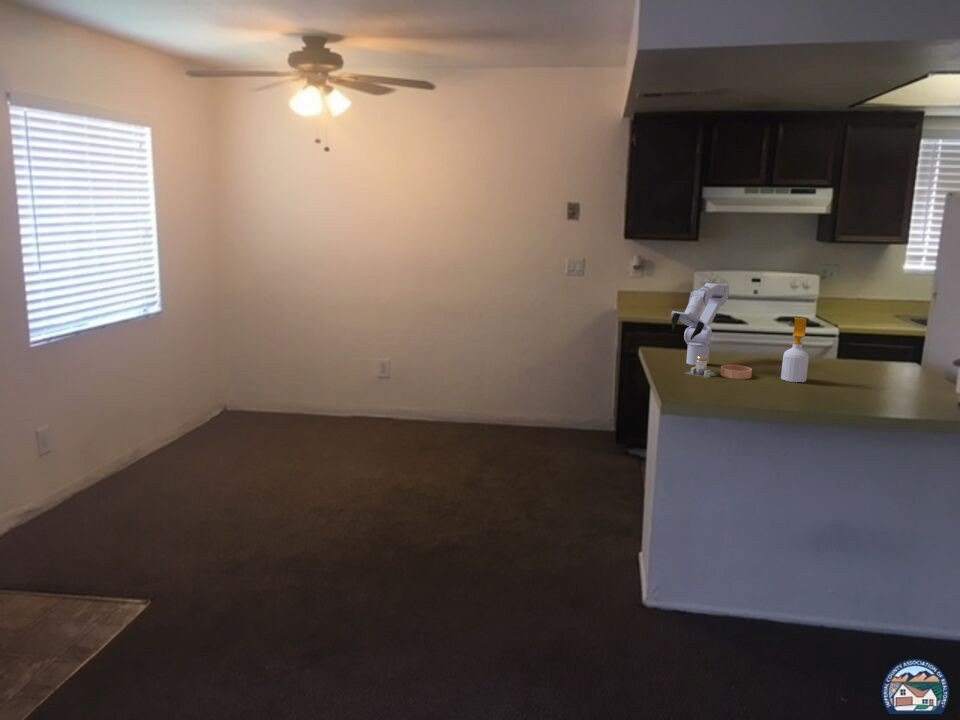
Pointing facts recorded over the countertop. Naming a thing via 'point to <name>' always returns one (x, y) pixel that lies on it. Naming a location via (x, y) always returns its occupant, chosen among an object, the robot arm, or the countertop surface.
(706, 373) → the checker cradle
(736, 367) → the cup
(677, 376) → the countertop surface
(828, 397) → the countertop surface
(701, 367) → the battery cell
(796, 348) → the soap bottle
